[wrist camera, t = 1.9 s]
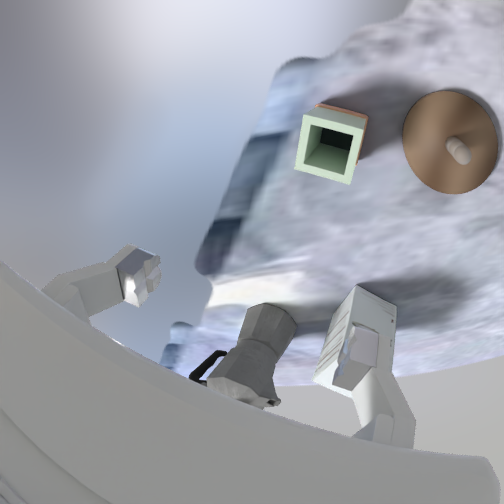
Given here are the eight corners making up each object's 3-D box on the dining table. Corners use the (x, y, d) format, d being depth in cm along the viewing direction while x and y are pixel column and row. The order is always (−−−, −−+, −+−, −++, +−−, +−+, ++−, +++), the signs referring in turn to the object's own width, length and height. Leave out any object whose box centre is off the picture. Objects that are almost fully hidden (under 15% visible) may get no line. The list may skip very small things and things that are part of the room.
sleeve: (368, 115, 27) (366, 128, 21) (357, 161, 31) (351, 187, 24) (318, 102, 28) (301, 111, 22) (310, 148, 32) (291, 170, 26)
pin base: (505, 116, 20) (528, 127, 16) (474, 203, 27) (489, 229, 22) (414, 75, 23) (423, 75, 18) (390, 170, 29) (392, 191, 25)
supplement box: (398, 305, 38) (393, 380, 29) (370, 333, 43) (357, 403, 34) (356, 281, 39) (340, 355, 30) (330, 313, 44) (309, 382, 35)
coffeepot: (304, 304, 45) (262, 406, 31) (312, 344, 49) (278, 437, 36) (218, 299, 52) (161, 379, 38) (234, 336, 56) (188, 413, 43)
